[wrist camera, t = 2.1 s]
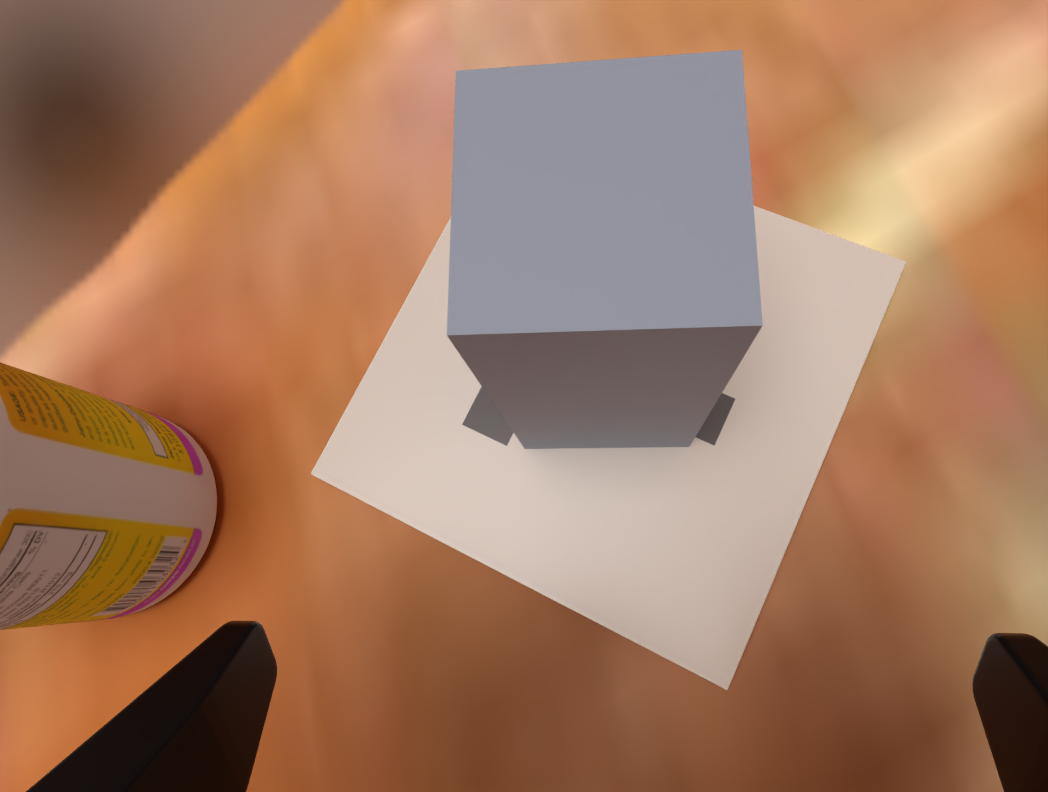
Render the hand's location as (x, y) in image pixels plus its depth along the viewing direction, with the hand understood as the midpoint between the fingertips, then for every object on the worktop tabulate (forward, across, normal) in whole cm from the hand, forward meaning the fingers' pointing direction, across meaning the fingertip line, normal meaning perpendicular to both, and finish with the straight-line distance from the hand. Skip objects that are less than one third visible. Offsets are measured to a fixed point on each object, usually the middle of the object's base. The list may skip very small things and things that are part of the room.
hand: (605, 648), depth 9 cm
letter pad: (+14, 0, +4) cm, 15 cm away
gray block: (+14, 0, +4) cm, 14 cm away
